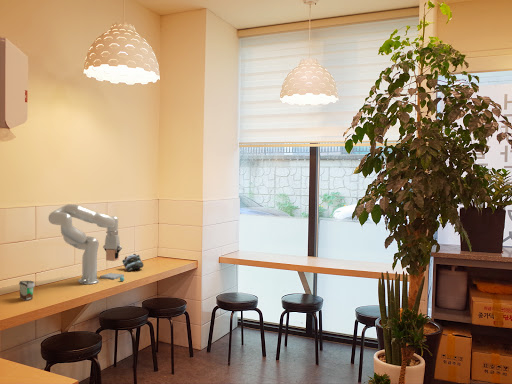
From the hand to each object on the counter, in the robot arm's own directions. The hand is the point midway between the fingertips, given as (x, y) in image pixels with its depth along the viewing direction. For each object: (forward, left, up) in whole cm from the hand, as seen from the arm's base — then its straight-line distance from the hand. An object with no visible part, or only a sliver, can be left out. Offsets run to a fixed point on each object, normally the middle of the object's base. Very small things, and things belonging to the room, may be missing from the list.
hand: (112, 257), depth 341 cm
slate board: (0, 0, -14) cm, 14 cm away
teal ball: (-8, -14, -14) cm, 21 cm away
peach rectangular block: (0, 0, -2) cm, 2 cm away
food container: (-68, +10, -14) cm, 70 cm away
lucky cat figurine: (+27, 0, -14) cm, 31 cm away
